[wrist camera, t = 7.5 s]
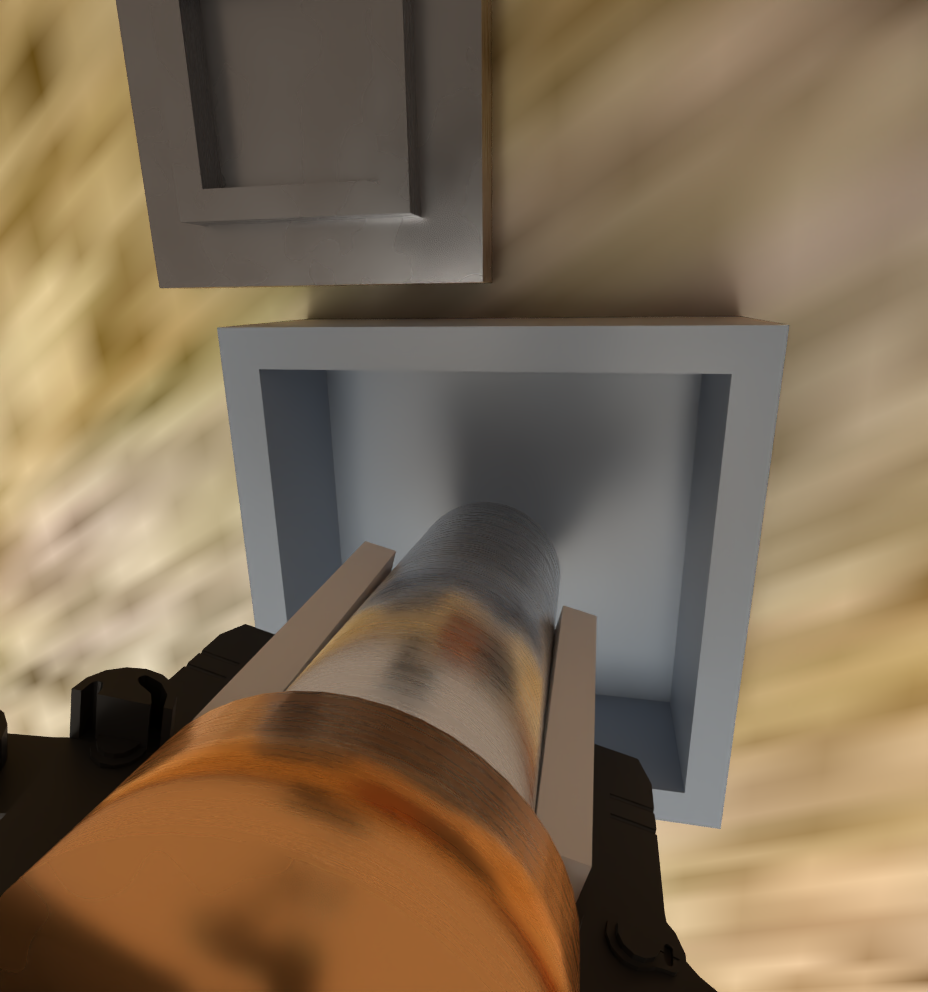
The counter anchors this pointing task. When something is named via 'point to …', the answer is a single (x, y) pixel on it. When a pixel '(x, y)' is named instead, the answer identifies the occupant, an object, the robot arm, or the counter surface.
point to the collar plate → (314, 139)
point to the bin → (535, 487)
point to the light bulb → (338, 811)
